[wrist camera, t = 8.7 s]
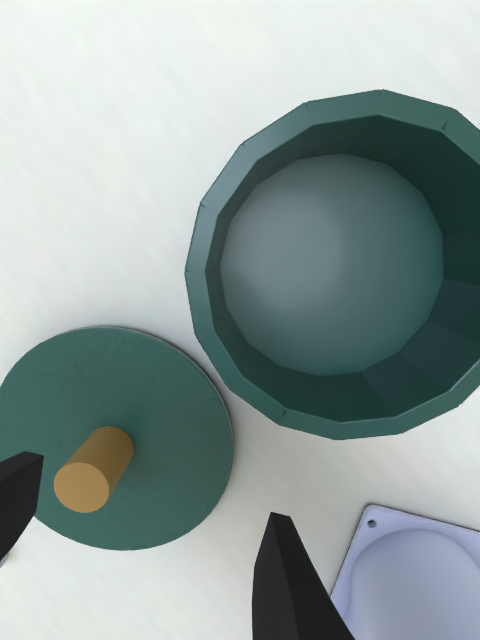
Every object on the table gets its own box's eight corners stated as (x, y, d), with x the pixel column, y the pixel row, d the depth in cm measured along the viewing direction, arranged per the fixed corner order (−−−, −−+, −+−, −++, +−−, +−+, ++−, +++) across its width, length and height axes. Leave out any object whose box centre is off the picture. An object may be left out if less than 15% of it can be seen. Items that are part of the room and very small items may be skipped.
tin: (404, 411, 20) (457, 472, 14) (183, 353, 20) (156, 393, 14) (495, 176, 17) (602, 147, 12) (241, 108, 17) (234, 47, 12)
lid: (204, 559, 22) (191, 636, 18) (-8, 504, 22) (-73, 569, 18) (261, 359, 20) (262, 393, 15) (19, 295, 19) (-51, 310, 15)
